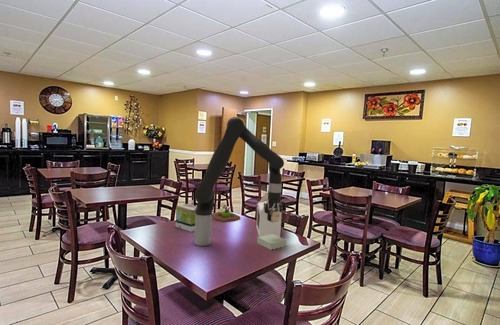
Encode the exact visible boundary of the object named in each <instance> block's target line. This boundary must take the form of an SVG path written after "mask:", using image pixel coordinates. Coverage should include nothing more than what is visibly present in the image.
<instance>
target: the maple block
mask: <svg viewBox="0 0 500 325" xmlns="http://www.w3.org/2000/svg"><path fill="white" fill-rule="evenodd" d="M269 212H270V211H269ZM267 215H268V214H267ZM279 215H280V211H277V210H274V209H273V211H272V213H271V221H270V222H272V223H273V222H279ZM267 221H269V220H268V219H267Z"/></svg>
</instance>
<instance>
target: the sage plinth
mask: <svg viewBox="0 0 500 325" xmlns="http://www.w3.org/2000/svg"><path fill="white" fill-rule="evenodd" d="M256 243H257V244H258V245H259V246H262V247H263V246H264V248H265V247H266V248H265V249H267V248H268V250H269V249H270V250H269V251H273V250H277V249H280V247H281V248H284V247H286V246H287V239H286V238H282V237H281V236H280V237H279V236H276V235H274V234H270V235H265V236H260V237H259V236H257V239H256ZM276 248H277V249H276ZM272 249H273V250H272Z"/></svg>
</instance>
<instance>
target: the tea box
mask: <svg viewBox="0 0 500 325" xmlns="http://www.w3.org/2000/svg"><path fill="white" fill-rule="evenodd" d="M175 207H176V208H175V227H176V228H178V229H181V230H184V231H187V232H190V233H192V232H195V215H196V208H197V205H192V204H189V203H186V204H181V205H176V206H175Z"/></svg>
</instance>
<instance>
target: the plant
mask: <svg viewBox="0 0 500 325" xmlns="http://www.w3.org/2000/svg"><path fill="white" fill-rule="evenodd" d="M223 209H224V210H223ZM230 209H232V210H234V207H233V206H229V207H227V205H226V204H224V205H222V210H221V211H219V212H218V213H214V214H212V217H213V218H212V221H213V220H214V221H215V222H219V223H231V222H237V221H239V220H241V216H240V215H237V214H236V213H233V212H232V211H231V210H230Z"/></svg>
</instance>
